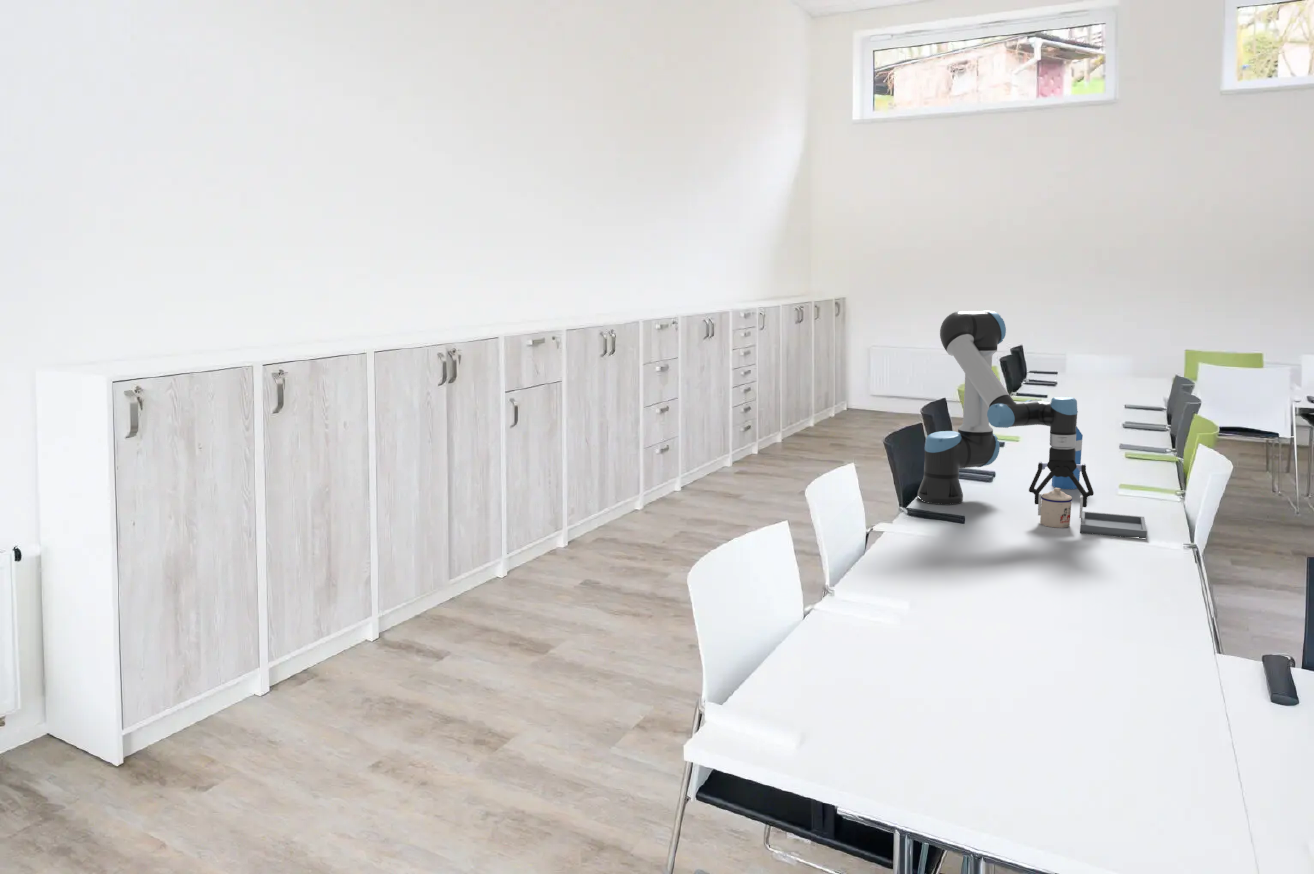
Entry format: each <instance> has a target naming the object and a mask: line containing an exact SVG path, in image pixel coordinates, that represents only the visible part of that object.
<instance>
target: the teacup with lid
mask: <svg viewBox="0 0 1314 874" xmlns="http://www.w3.org/2000/svg"><path fill="white" fill-rule="evenodd" d="M1041 494H1042V493H1041ZM1072 502H1073V497H1072V496H1071V495H1069V494H1066V493H1065V492H1064V491H1062V489H1061V488H1056V487H1053V490H1051V491H1049V492H1044V493H1043V494H1042V496H1041V516H1039V517H1040V520H1039V522H1040V524H1041V525H1042V526H1044V527H1049V528H1052V529H1053V528H1054V529H1055V528H1056V529H1063V528H1068V527H1070V525H1071V514H1072V513H1071V511H1072Z"/></svg>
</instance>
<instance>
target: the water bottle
mask: <svg viewBox="0 0 1314 874" xmlns="http://www.w3.org/2000/svg"><path fill="white" fill-rule="evenodd" d="M1074 448H1075V449H1076V454H1075V463H1076V464H1080V465H1082V461H1081V460H1082V449H1083V434H1082V432H1081V431H1080V429H1079V428H1078V426H1077V425H1076V446H1075V447H1074ZM1073 473H1074V475H1075V477H1076V478H1077V480H1078V481H1079V482H1080V477H1081V476H1080V475H1081V472H1080V471H1079V469H1078V468H1076V469H1075V470H1074V471H1073ZM1051 486H1052V487H1053V488H1060V489H1061V490H1076V489H1078V488H1077V487H1076V485H1075V484H1074V483H1073V481H1072V480H1071V479H1070V477H1069V476H1068V477H1056V476H1053V477H1052V478H1051Z"/></svg>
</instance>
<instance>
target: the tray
mask: <svg viewBox="0 0 1314 874" xmlns="http://www.w3.org/2000/svg"><path fill="white" fill-rule="evenodd" d="M1079 526H1080V528H1079V533H1080V534H1086V535H1087V534H1088V535H1094V536H1095V535H1096V536H1104V537H1105V536H1106V537H1117V538H1125V537H1139V538H1146V539H1147V533H1148V530H1147V525H1146V520H1145V516H1138V515H1130V514H1128V515H1127V514H1118V513H1116V514H1115V513H1106V512H1095V511H1093V512H1092V511H1084V510H1082V518H1080V525H1079ZM1120 536H1121V537H1120Z"/></svg>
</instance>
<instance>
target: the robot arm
mask: <svg viewBox="0 0 1314 874" xmlns="http://www.w3.org/2000/svg"><path fill="white" fill-rule="evenodd" d="M1006 328H1007V327H1006V323H1005V320H1004V319H1003V318H1002V316H1001V315H1000V314H999V313H998V312H996V311H994V310H985V309H984V310H967V311H965V310H958V311H954V312H952V313H950V314H949V315H947V316H946V318H944V320H943V321H942V323H941V325H940V329H939V338H940V341H941V344H942V346H943V348H944V350H945V351H946V353H947V354H948V355H949V356H953V357H954V359H955V360H956V362H957V363H958V365H959V366H960V368H961V370H962V371H963V372H964V390H963V391H964V393H963V413H962V414H963V416H962V423H961V424H960V425H959V427H957V431H954V430H945V431H944V430H942V431H941V430H940V431H935V432H932V433H930V434H928V435H927V436H926V437H925V444H924V460H923V461H924V464H923V477H922V478H923V479H922V481H921V483H920V485H919V488H918V490H917V497H918V496H919V497H920V498H921V500H923V501H925V502H924V503H926V502H929V503H928V504H933V505H945V504H948V505H957V504H961V503H963V501H964V492H963V490H962V486H961V483H960V469H968V468H970V469H971V468H981V467H986V466H989V465H992V464H993V463H994V462H995V461H996V460H997V458H998V456H999V454H1000V440H998V436H997V435H996V434H994V428H1005V429H1008V428H1011V427H1026V426H1047V427H1050V428H1049V446H1050V447H1049V451H1048V452H1049V453H1048V454H1049V456H1048V462H1042V461H1039V462H1038V464H1037V471H1036V473H1035V475H1034V477H1033V480H1032V482H1031V484H1030V486H1029V488H1028V492H1029V493H1032V494H1034V505H1037V516H1039V517H1041V502H1042V498H1041V496H1042V493H1041V491H1042V490H1043V489H1044V488H1045V487H1046V485H1048V483H1049V482H1050V481H1051V480H1052V477H1053V476H1056V477H1068V476H1069V477H1070V479H1071V480H1072V481H1073V483H1074V484H1075V485H1076V487H1077V488H1076V489H1077V490H1078V491H1079V492H1080V494H1081V495H1079V496H1080V497H1079V499H1080V500H1079V519H1081V518H1082V511H1083V510H1084V509H1083V508H1087V505H1088V497H1092V496H1094V494H1095V492H1094V489H1093V487H1092V484H1091V481H1090V478H1089V476H1088V473H1087V465H1086V463H1081V465H1080V464H1076V463H1075V454H1076V449H1075V448H1074V447H1075V446H1076V426H1077V425H1078V424H1077V423H1078V422H1077V421H1078V413H1079V411H1078V401H1077V398H1075V397H1069V396H1054V397H1052V398H1051V400H1050V401H1046V400H1043V401H1042V400H1039V399H1026V400H1025V401H1019V402H1017V401H1016V402H1015V401H1014V399H1013V397H1012V396H1011V395H1010V394H1009V392H1008V391H1007V389H1006V388H1005V387H1004V385H1003V383H1002V382H1001V381H1000V379H999V378H998V377H997V375H996V374H995V372H994V370H993V369H992V368H993V355H994V354H996V353H997V352H998V345H999V344H1002V343H1003V342H1004V341H1003V340H1004V339H1005V337H1006V333H1007V329H1006ZM991 426H992V427H991ZM993 427H994V428H993ZM1046 467H1047V468H1048V469H1049V471H1050V472H1048V474H1047V476H1046V477H1045V478H1044V479H1043V480H1042V482H1041V483H1040V484H1039V485H1038V487H1037V488H1036V489H1035V487H1036V485H1037V482H1038V481H1039V478H1040V476H1041V474H1042V471H1044V470H1045V469H1046ZM1076 468H1078V469H1079V471H1080V473H1081V475H1082V478H1083V481H1084V483H1085V486H1086V488H1087V491H1086V490H1085V488H1084V487H1083V485H1082V483H1081V482H1080V480H1079V481H1078V480H1077V478H1076V477H1075V475H1074V473H1073V471H1074V470H1075V469H1076ZM923 501H922V502H923Z"/></svg>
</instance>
